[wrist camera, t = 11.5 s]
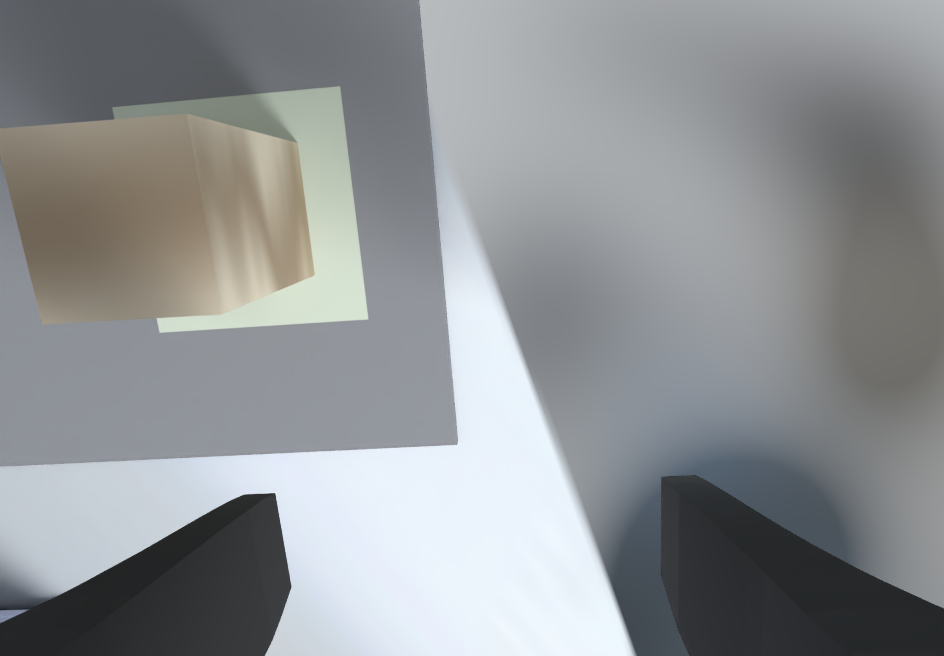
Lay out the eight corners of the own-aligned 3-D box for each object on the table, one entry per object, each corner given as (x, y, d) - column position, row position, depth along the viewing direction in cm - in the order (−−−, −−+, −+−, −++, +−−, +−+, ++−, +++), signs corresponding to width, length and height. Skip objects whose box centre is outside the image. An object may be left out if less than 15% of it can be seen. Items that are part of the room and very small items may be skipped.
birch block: (314, 275, 17) (221, 314, 12) (193, 282, 18) (42, 324, 12) (297, 143, 17) (187, 114, 11) (169, 152, 17) (-7, 129, 11)
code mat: (457, 440, 19) (457, 445, 19) (-185, 471, 20) (-195, 476, 20) (410, -95, 15) (408, -101, 15) (-366, -6, 17) (-383, -10, 17)
